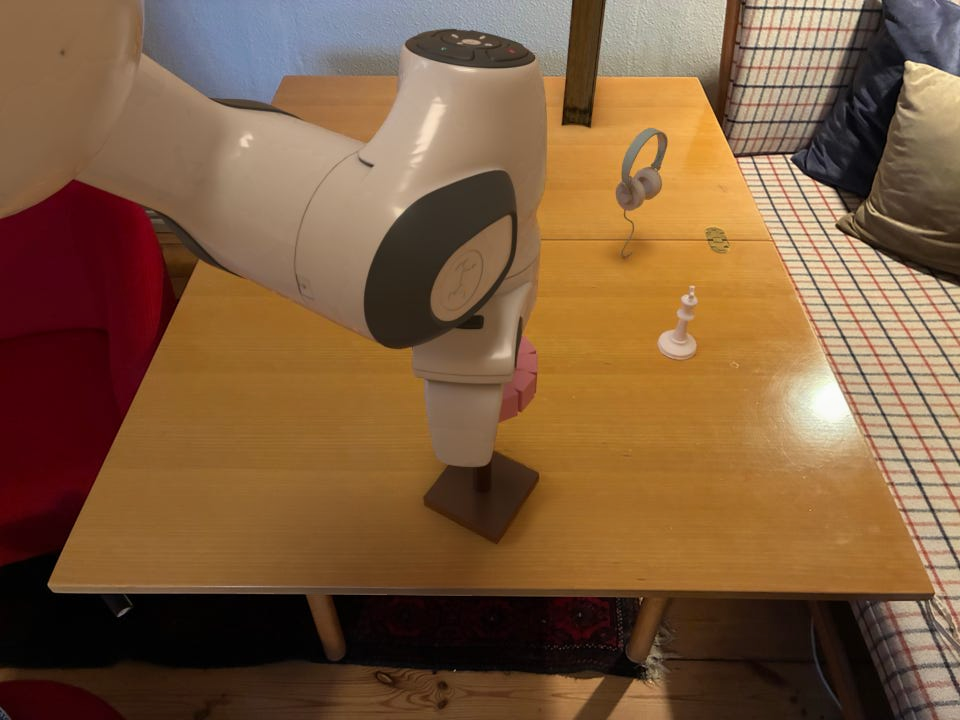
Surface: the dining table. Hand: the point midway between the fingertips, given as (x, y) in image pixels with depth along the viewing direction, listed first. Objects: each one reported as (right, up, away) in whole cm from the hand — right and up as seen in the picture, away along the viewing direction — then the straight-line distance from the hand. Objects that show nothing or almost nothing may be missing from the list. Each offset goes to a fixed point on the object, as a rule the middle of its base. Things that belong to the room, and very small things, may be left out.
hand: (476, 404), depth 58 cm
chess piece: (+26, +5, +32) cm, 41 cm away
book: (+19, +53, +77) cm, 96 cm away
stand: (0, -11, +17) cm, 20 cm away
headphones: (+22, +19, +45) cm, 53 cm away
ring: (0, +2, +4) cm, 4 cm away
